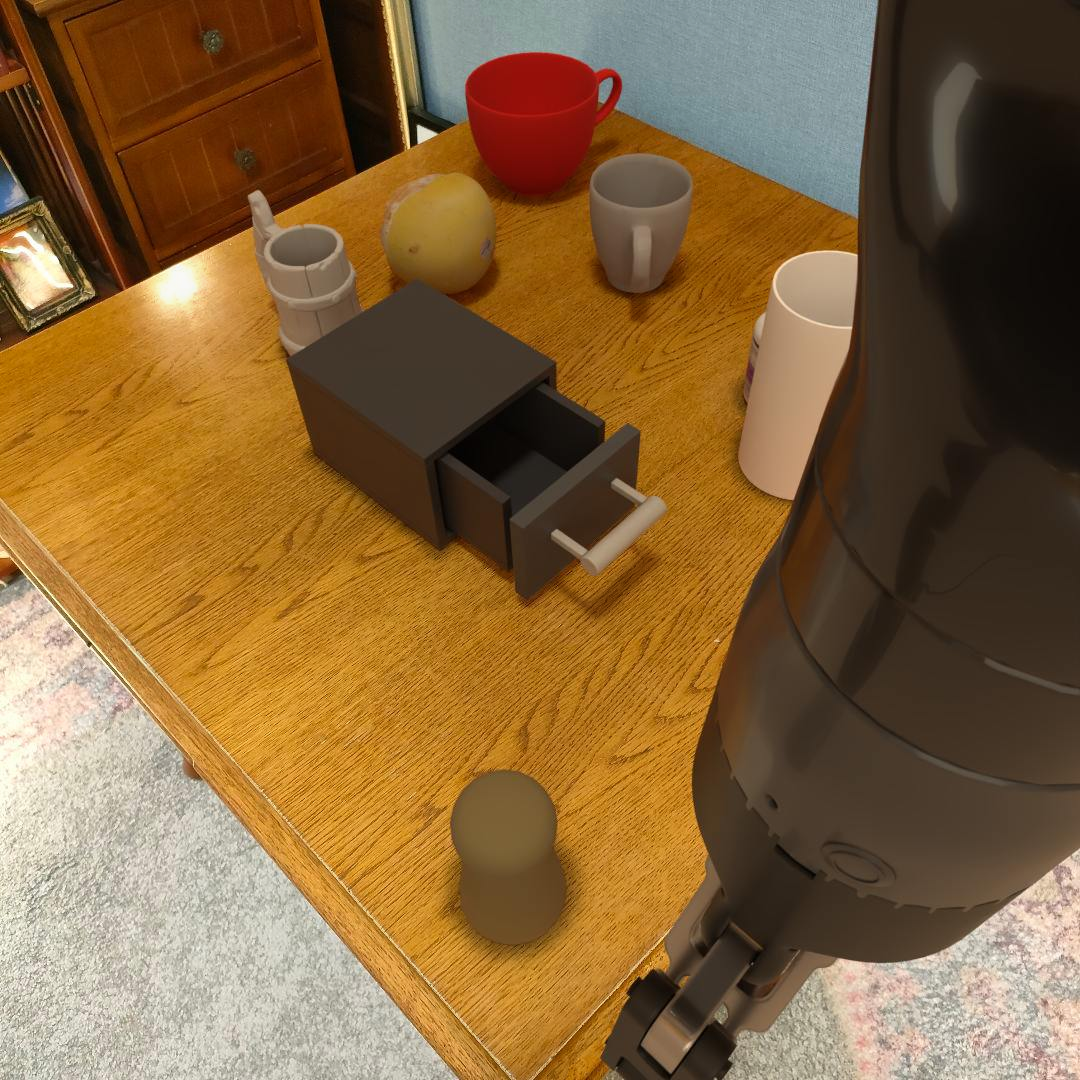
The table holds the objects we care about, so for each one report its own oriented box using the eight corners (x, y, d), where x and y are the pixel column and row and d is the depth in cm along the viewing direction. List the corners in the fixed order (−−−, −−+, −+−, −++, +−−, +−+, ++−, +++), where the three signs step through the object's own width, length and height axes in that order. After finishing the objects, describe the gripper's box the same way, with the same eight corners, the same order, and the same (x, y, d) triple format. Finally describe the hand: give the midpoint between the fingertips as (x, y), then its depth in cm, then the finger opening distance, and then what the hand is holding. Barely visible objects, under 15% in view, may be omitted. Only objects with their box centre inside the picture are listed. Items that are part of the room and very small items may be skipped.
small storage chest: (558, 456, 74) (556, 361, 67) (439, 551, 69) (423, 459, 61) (431, 373, 81) (416, 278, 73) (313, 453, 75) (285, 359, 68)
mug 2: (588, 247, 91) (589, 152, 84) (680, 247, 91) (690, 152, 83) (587, 327, 84) (589, 231, 76) (688, 328, 84) (699, 231, 76)
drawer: (681, 537, 68) (692, 461, 62) (574, 637, 63) (574, 565, 57) (503, 420, 76) (497, 343, 69) (395, 501, 71) (379, 425, 64)
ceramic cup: (652, 176, 99) (659, 79, 91) (512, 228, 94) (507, 130, 86) (584, 124, 106) (585, 30, 98) (450, 169, 101) (440, 74, 93)
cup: (823, 516, 70) (878, 344, 57) (720, 474, 73) (751, 302, 60) (862, 446, 74) (921, 273, 62) (763, 409, 77) (801, 236, 64)
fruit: (512, 252, 91) (506, 154, 83) (480, 322, 85) (471, 223, 77) (411, 239, 93) (397, 142, 85) (372, 307, 86) (353, 208, 79)
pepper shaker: (443, 926, 52) (418, 851, 44) (480, 824, 56) (463, 736, 47) (548, 959, 51) (544, 890, 42) (579, 853, 55) (580, 769, 46)
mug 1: (319, 385, 80) (285, 263, 71) (240, 323, 85) (199, 203, 76) (389, 342, 83) (366, 220, 74) (310, 285, 89) (279, 165, 79)
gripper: (910, 442, 24) (777, 730, 37) (533, 845, 18) (529, 1026, 31) (1210, 609, 21) (952, 860, 34) (888, 1169, 15) (719, 1219, 28)
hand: (752, 938), depth 32 cm, fingers open, 8 cm apart
